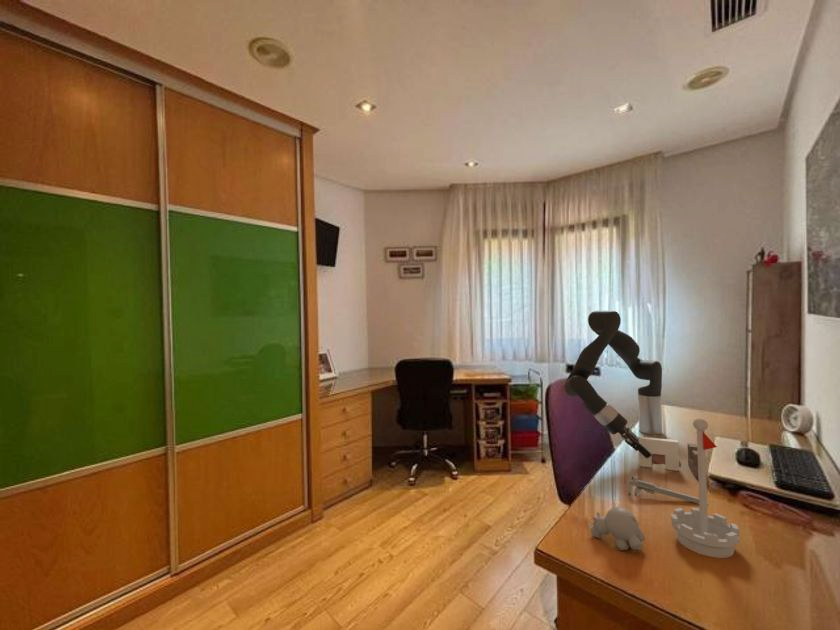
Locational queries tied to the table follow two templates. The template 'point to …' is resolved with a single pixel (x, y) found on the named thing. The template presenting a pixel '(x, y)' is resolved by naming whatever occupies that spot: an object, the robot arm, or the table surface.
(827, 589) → the table surface
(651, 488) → the caliper
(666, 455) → the white notched plate
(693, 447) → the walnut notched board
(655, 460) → the wooden tablet
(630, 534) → the chubby cartoon animal
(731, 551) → the flag stand
